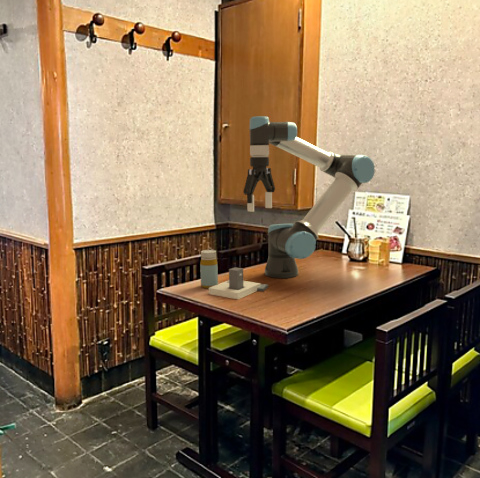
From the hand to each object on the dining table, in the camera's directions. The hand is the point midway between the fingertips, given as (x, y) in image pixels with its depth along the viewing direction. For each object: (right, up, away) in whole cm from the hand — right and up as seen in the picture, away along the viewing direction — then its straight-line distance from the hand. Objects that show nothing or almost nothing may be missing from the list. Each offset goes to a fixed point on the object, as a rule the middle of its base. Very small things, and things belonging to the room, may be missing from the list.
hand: (260, 209), depth 198 cm
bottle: (-21, -32, +5) cm, 38 cm away
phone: (+1, -32, +1) cm, 32 cm away
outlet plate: (-10, -33, -3) cm, 34 cm away
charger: (-9, -33, -6) cm, 35 cm away
